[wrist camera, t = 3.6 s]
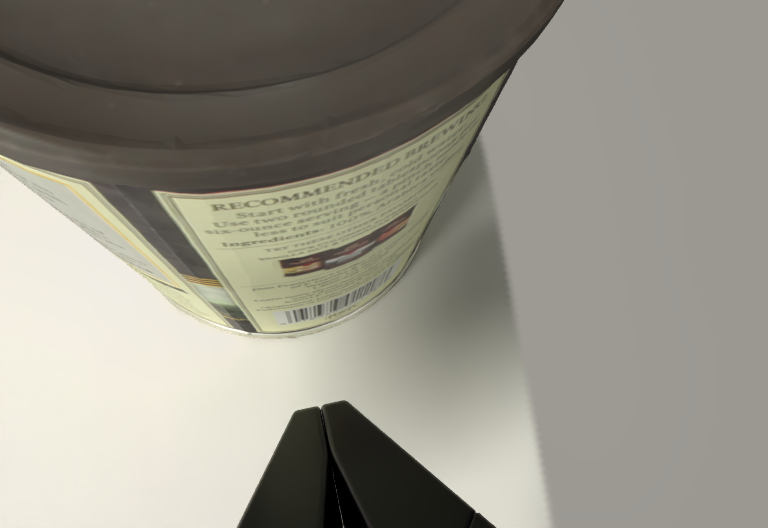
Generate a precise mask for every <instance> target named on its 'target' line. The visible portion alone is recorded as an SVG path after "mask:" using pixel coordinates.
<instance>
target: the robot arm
mask: <svg viewBox="0 0 768 528" xmlns="http://www.w3.org/2000/svg"><path fill="white" fill-rule="evenodd" d="M321 412H322V414H321ZM322 418H323V419H322ZM323 423H324V424H323ZM324 428H325V429H324ZM325 433H326V434H325ZM330 459H331V460H330ZM334 480H335V481H334ZM335 485H336V486H335ZM336 490H337V491H336ZM337 495H338V497H337ZM338 501H339V502H338ZM339 506H340V507H339ZM340 511H341V512H340ZM341 516H342V518H341ZM342 521H343V523H342ZM343 526H344V528H496V527H495V526H494V525H493V524H491V523H490V522H489V521H488V520H487V519H486V518H484V517H483V516H482V515H481V514H480V513H476V512H475V510H474V509H473V508H472V507H470V506H469V505H468V504H467V503H466V502H465V501H463V500H462V499H461V498H460V497H459V496H458V495H456V494H455V493H454V492H453V491H452V490H451V489H449V488H448V487H447V486H446V485H445V484H443V483H442V482H441V481H440V480H439V479H438V478H436V477H435V476H434V475H433V474H432V473H431V472H429V471H428V470H427V469H426V468H425V467H424V466H422V465H421V464H420V463H419V462H418V461H417V460H415V459H414V458H413V457H412V456H411V455H410V454H408V453H407V452H406V451H405V450H404V449H402V448H401V447H400V446H399V445H398V444H397V443H395V442H394V441H393V440H392V439H391V438H390V437H388V436H387V435H386V434H385V433H384V432H383V431H381V430H380V429H379V428H378V427H377V426H376V425H374V424H373V423H372V422H371V421H370V420H369V419H367V418H366V417H365V416H364V415H363V414H361V413H360V412H359V411H358V410H357V409H356V408H354V407H353V406H352V405H351V404H350V403H349V402H347V401H345V400H343V401H338V402H334V403H329V404H325V405H323V406H322V408H321V410H320V408H319V407H311V408H307V409H302V410H298V411H295V412H294V413H293V415H292V417H291V419H290V421H289V423H288V425H287V427H286V429H285V431H284V433H283V435H282V437H281V439H280V441H279V443H278V445H277V447H276V449H275V451H274V453H273V455H272V457H271V459H270V461H269V463H268V465H267V467H266V469H265V471H264V473H263V476H262V478H261V480H260V482H259V484H258V486H257V488H256V490H255V492H254V494H253V496H252V498H251V500H250V502H249V504H248V506H247V508H246V510H245V512H244V514H243V516H242V518H241V520H240V522H239V524H238V526H237V528H343Z"/></svg>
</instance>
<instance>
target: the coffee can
mask: <svg viewBox="0 0 768 528" xmlns="http://www.w3.org/2000/svg"><path fill="white" fill-rule="evenodd" d="M563 1H564V0H0V166H1V167H2V168H4V169H5V170H6V171H7V172H9V173H10V174H11V175H13V176H14V177H15V178H16V179H18V180H19V181H20V182H21V183H23V184H24V185H25V186H27V187H28V188H29V189H31V190H32V191H33V192H34V193H36V194H37V195H38V196H40V197H41V198H42V199H44V200H45V201H46V202H47V203H49V204H50V205H51V206H53V207H54V208H55V209H57V210H58V211H59V212H60V213H62V214H63V215H64V216H66V217H67V218H68V219H70V220H71V221H72V222H73V223H75V224H76V225H77V226H78V227H80V228H81V229H82V230H83V231H85V232H86V233H87V234H89V235H90V236H91V237H92V238H94V239H95V240H96V241H97V242H99V243H100V244H101V245H102V246H104V247H105V248H106V249H108V250H109V251H110V252H111V253H113V254H114V255H115V256H116V257H118V258H119V259H120V260H122V261H124V262H125V263H126V264H127V265H129V266H130V267H131V268H132V269H134V270H135V271H136V272H138V273H139V274H140V275H141V276H143V277H144V278H145V279H147V280H148V281H149V282H150V283H152V284H153V285H154V286H155V287H156V289H157V290H158V291H159V292H160V293H161V294H162V295H163V296H164V297H165V298H166V299H168V300H169V301H170V302H171V303H172V304H173V305H174V306H175V307H177V308H178V309H180V310H182V311H183V312H185V313H187V314H189V315H190V316H192V317H194V318H195V319H197V320H198V321H200V322H202V323H205V324H207V325H209V326H212V327H214V328H217V329H219V330H222V331H225V332H229V333H233V334H237V335H242V336H247V337H256V338H270V339H279V338H296V337H299V336H304V335H309V334H313V333H316V332H320V331H323V330H326V329H329V328H331V327H334V326H337V325H339V324H342V323H344V322H346V321H347V320H349V319H351V318H353V317H355V316H357V315H358V314H360V313H361V312H363V311H365V310H366V309H368V308H369V307H370V306H371V305H373V304H374V303H375V302H377V301H378V300H379V299H381V298H382V297H383V296H384V295H385V294H386V293H387V292H388V291H389V290H390V289H391V288H392V287H393V285H394V284H395V283H396V282H397V281H398V280H400V278H401V277H402V275H403V274H404V272H405V271H406V269H407V267H408V266H409V264H410V262H411V261H412V259H413V257H414V256H415V253H416V251H417V249H418V247H419V245H420V242H421V239H422V236H423V234H424V232H425V230H426V229H427V227H428V225H429V223H430V221H431V219H432V218H433V216H434V214H435V212H436V210H437V208H438V206H439V205H440V203H441V201H442V199H443V197H444V195H445V193H446V192H447V190H448V188H449V186H450V185H451V183H452V181H453V179H454V177H455V175H456V174H457V172H458V170H459V168H460V166H461V164H462V163H463V161H464V160H465V159H466V157H467V156H468V155H469V154H470V151H471V148H472V146H473V145H474V143H475V141H476V138H477V137H478V135H479V133H480V131H481V129H482V127H483V125H484V123H485V121H486V120H487V117H488V116H489V114H490V112H491V110H492V109H493V107H494V105H495V103H496V101H497V99H498V97H499V95H500V93H501V91H502V89H503V87H504V86H505V84H506V82H507V80H508V79H509V77H510V75H511V73H512V71H513V69H514V67H515V65H516V63H517V61H518V59H519V58H520V57H521V56H522V55H523V54H524V53H525V52H526V50H527V49H528V48H529V47H530V46H531V45H532V44H533V43H534V42H535V40H536V39H537V38H538V37H539V35H540V34H541V33H542V31H543V30H544V29H545V27H546V26H547V25H548V23H549V22H550V21H551V19H552V18H553V16H554V15H555V13H556V12H557V10H558V9H559V7H560V6H561V4H562V3H563Z"/></svg>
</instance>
